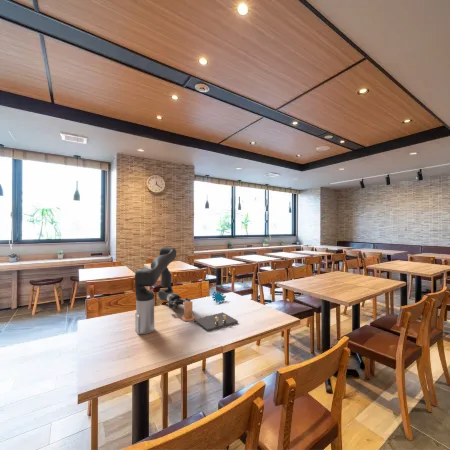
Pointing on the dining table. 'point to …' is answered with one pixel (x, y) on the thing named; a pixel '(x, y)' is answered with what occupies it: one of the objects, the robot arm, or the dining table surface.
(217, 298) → the teal spiky virus model
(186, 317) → the orange flanged cylinder
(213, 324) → the base plate
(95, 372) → the dining table surface
